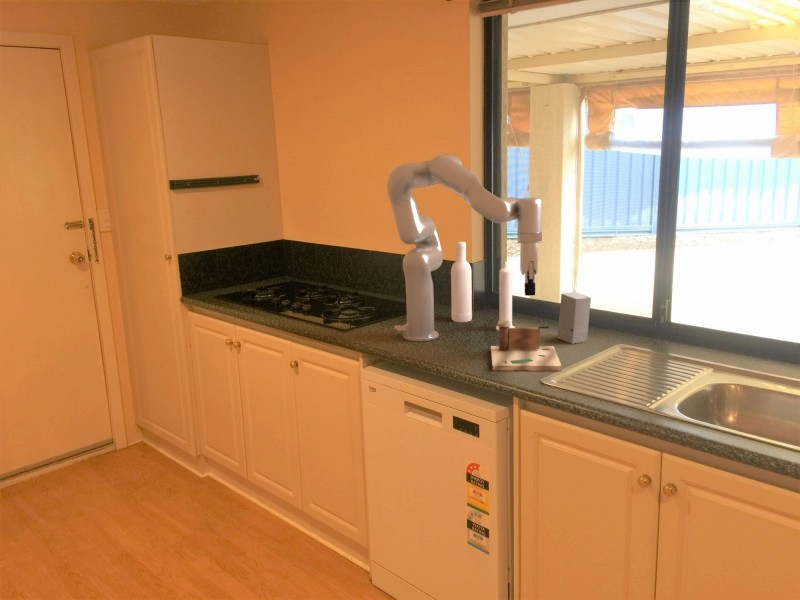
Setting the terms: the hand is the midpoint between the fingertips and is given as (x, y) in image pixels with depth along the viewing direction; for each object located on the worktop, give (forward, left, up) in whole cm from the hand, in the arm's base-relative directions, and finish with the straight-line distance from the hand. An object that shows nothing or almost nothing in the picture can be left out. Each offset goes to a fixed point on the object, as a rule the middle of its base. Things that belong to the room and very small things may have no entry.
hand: (529, 294), depth 215 cm
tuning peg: (-2, -5, -16) cm, 17 cm away
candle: (-6, +25, -18) cm, 31 cm away
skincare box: (+16, +11, -18) cm, 26 cm away
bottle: (-22, +39, -18) cm, 48 cm away
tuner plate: (-2, -11, -18) cm, 22 cm away
